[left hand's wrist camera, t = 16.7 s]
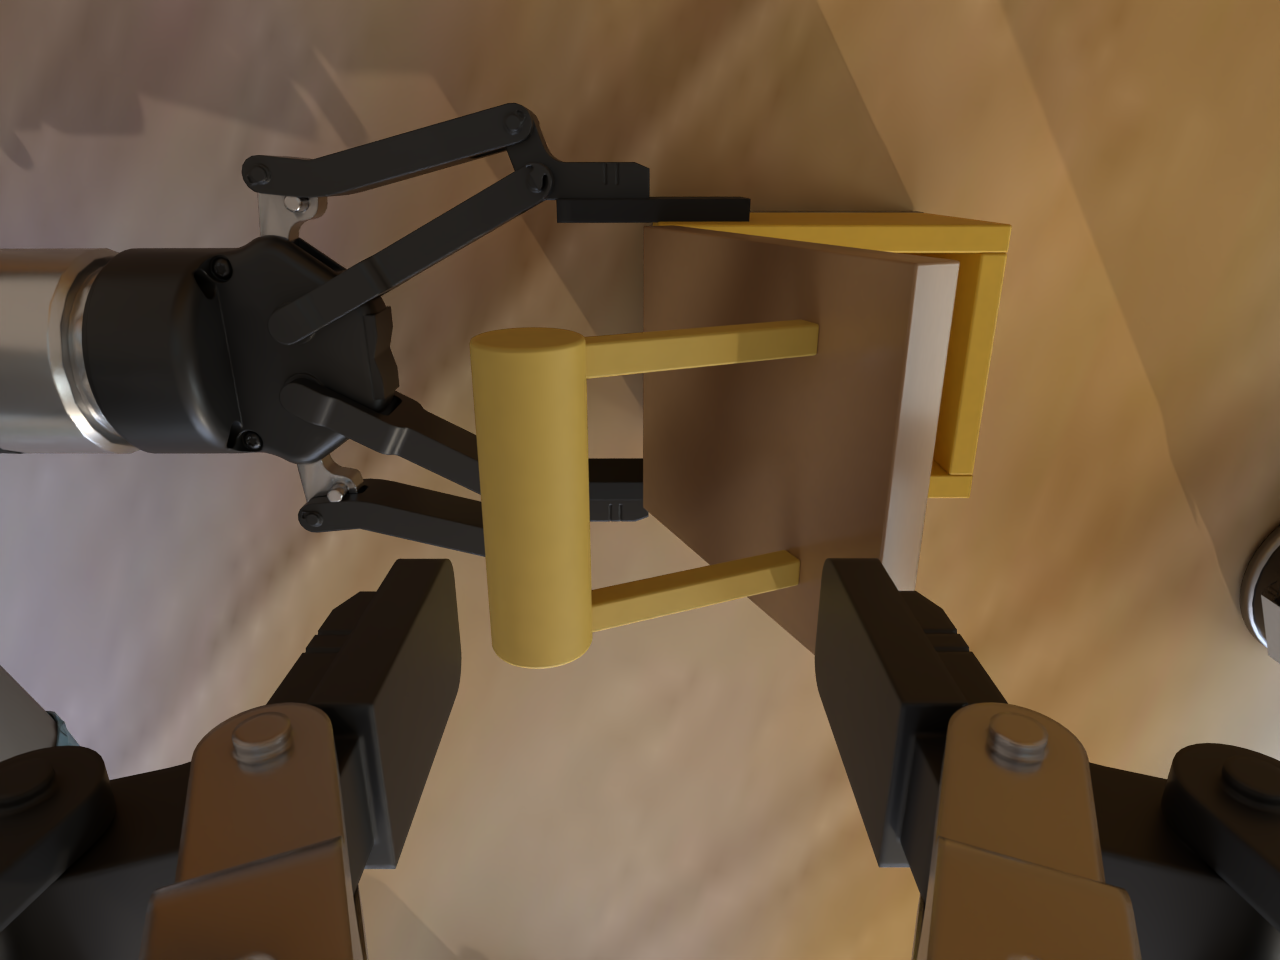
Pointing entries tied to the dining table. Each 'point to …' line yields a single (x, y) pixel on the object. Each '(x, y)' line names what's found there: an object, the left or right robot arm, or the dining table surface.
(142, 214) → the dining table surface
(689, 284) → the lid
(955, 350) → the chest
